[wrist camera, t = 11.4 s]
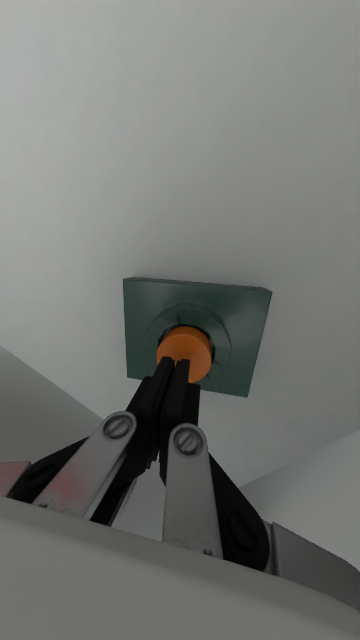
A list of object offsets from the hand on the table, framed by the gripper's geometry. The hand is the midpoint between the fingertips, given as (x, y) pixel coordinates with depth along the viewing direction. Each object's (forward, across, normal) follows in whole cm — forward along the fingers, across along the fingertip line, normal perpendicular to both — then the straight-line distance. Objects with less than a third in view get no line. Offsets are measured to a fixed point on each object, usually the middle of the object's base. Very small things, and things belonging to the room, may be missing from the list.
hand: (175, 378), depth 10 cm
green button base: (+8, 0, 0) cm, 8 cm away
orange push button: (+4, 0, 0) cm, 4 cm away
